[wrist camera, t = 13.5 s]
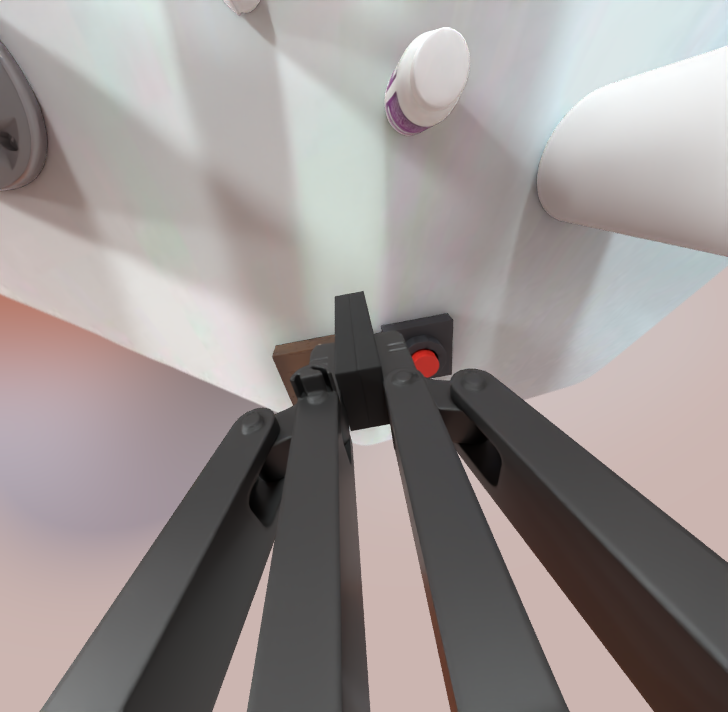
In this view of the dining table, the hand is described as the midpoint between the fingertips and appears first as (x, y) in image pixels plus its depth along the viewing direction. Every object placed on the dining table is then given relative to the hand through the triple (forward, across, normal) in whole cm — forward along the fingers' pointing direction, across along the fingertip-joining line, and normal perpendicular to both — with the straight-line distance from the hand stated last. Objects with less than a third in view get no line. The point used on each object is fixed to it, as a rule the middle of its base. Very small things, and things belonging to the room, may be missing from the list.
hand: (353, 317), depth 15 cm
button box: (+22, -8, +18) cm, 30 cm away
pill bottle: (+23, -9, -11) cm, 27 cm away
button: (+19, -8, +18) cm, 27 cm away
